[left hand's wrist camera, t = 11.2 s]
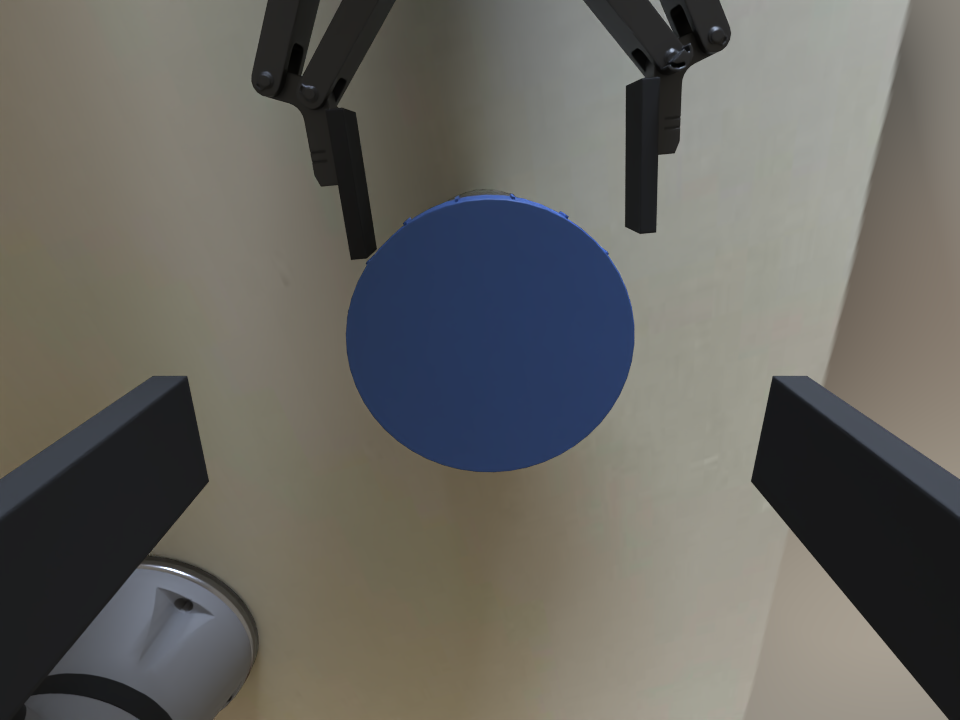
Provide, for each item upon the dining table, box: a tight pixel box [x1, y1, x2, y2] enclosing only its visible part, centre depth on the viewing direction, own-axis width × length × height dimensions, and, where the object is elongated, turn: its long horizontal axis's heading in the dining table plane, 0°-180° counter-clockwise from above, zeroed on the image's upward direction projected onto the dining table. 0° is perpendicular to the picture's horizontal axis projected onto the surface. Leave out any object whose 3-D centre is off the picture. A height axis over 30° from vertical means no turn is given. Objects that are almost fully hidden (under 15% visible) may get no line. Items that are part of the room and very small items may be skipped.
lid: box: [346, 194, 634, 472], centre depth 19 cm, size 10×10×2 cm
